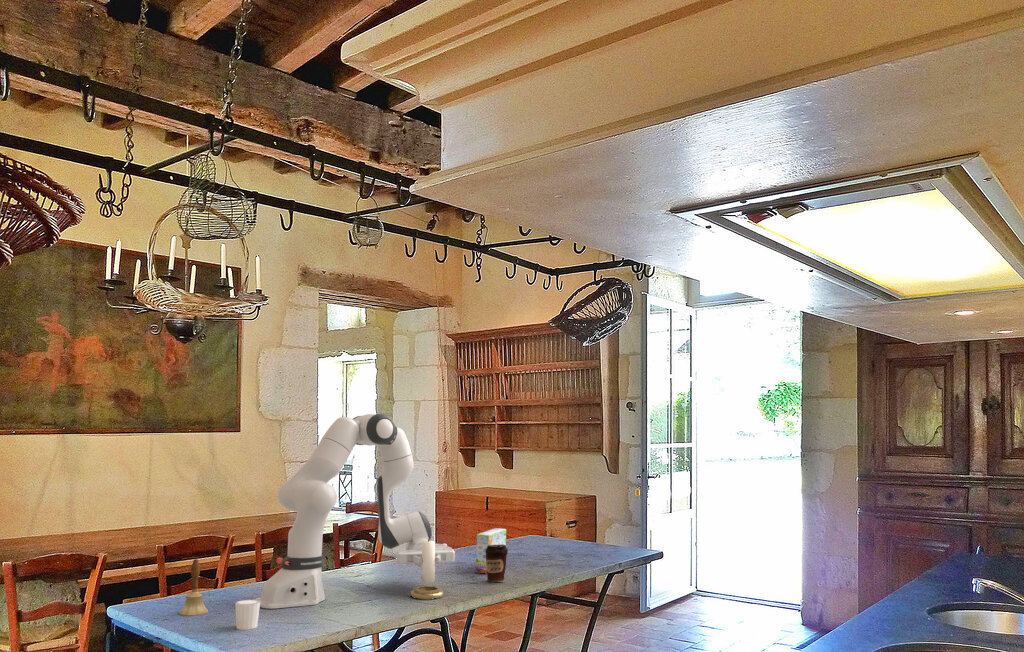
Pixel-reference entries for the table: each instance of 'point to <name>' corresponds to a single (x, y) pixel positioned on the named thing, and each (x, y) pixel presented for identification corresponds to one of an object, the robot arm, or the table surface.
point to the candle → (428, 561)
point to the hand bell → (194, 595)
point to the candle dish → (427, 592)
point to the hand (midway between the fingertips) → (428, 560)
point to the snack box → (485, 539)
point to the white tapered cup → (247, 614)
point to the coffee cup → (496, 562)
